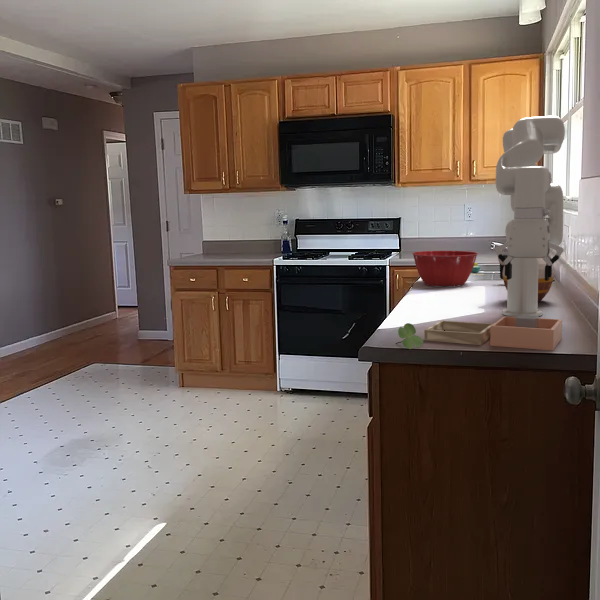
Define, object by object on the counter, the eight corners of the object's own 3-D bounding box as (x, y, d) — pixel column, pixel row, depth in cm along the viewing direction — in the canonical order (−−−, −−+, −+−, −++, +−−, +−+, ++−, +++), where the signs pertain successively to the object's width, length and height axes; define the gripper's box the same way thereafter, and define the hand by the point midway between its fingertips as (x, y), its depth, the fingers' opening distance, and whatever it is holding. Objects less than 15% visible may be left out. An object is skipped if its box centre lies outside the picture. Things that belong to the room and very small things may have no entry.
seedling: (406, 362, 177) (421, 353, 171) (382, 348, 175) (395, 339, 170) (411, 341, 181) (425, 332, 176) (387, 327, 179) (401, 317, 174)
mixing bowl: (482, 283, 300) (482, 250, 297) (471, 292, 274) (471, 255, 272) (421, 282, 311) (421, 250, 309) (405, 290, 285) (405, 255, 283)
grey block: (518, 336, 179) (519, 315, 178) (538, 338, 177) (538, 316, 176) (515, 340, 175) (515, 318, 174) (534, 341, 172) (535, 319, 171)
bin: (503, 334, 186) (503, 316, 186) (561, 338, 179) (562, 319, 178) (490, 345, 173) (490, 325, 172) (553, 350, 165) (553, 329, 164)
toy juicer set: (442, 273, 353) (442, 258, 352) (476, 272, 351) (476, 257, 350) (447, 279, 325) (447, 263, 324) (484, 278, 323) (485, 262, 322)
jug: (497, 306, 236) (498, 222, 231) (496, 299, 253) (497, 220, 248) (555, 306, 230) (558, 221, 226) (550, 299, 247) (552, 219, 243)
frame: (441, 330, 195) (441, 320, 195) (494, 334, 187) (494, 323, 187) (424, 340, 182) (424, 330, 181) (481, 344, 174) (481, 333, 174)
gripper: (566, 213, 170) (564, 278, 173) (498, 214, 178) (497, 276, 181) (562, 215, 164) (560, 282, 166) (492, 215, 172) (491, 280, 175)
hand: (527, 279), depth 174 cm, fingers open, 9 cm apart
